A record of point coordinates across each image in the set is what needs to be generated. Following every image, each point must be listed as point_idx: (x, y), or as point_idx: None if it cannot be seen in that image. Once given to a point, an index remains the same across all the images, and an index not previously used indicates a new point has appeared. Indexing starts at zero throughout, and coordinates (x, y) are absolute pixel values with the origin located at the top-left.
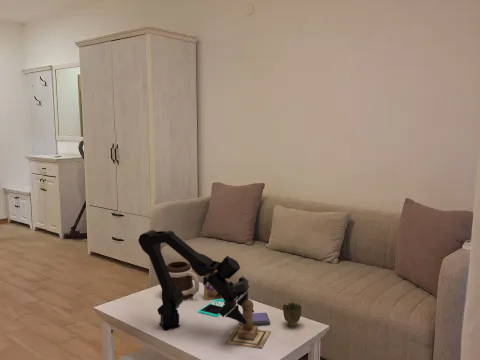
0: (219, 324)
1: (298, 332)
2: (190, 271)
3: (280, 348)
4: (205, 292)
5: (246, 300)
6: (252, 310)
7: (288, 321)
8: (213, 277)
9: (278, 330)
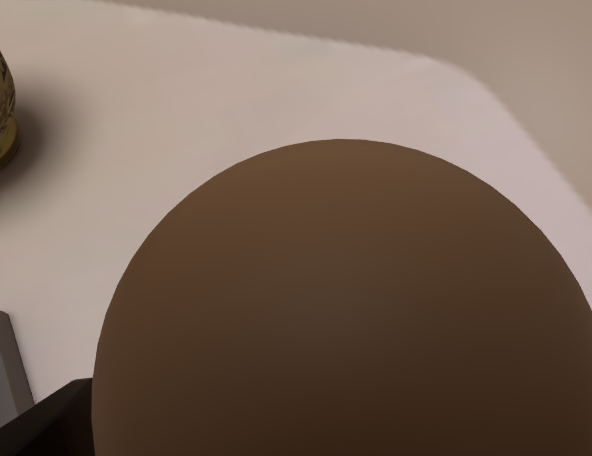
0: None
1: (101, 80)
2: None
3: (386, 106)
4: None
5: (437, 342)
6: (84, 400)
7: (8, 118)
8: None
9: (101, 212)
